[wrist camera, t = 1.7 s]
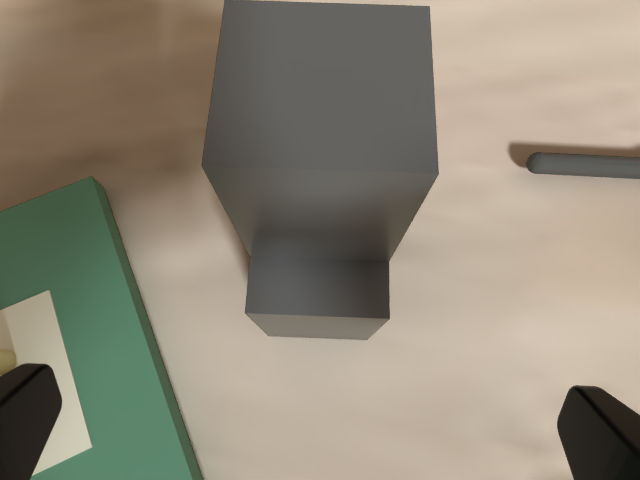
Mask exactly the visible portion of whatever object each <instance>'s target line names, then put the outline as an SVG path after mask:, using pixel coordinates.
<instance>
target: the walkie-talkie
mask: <svg viewBox="0 0 640 480" xmlns="http://www.w3.org/2000/svg"><path fill="white" fill-rule="evenodd" d="M526 165H527V168H528V170H529V171H530V172H532V173H535V174H554V175H573V176H593V177H612V178H631V179H640V158H637V157H618V156H599V155H580V154H561V153H541V152H537V153H533V154H532V155H530V157H529V158H528V159H527V162H526Z"/></svg>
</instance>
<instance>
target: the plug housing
mask: <svg viewBox="0 0 640 480" xmlns="http://www.w3.org/2000/svg"><path fill="white" fill-rule="evenodd" d="M202 168H203V169H204V171H205V173H206V175H207V177H208V179H209V181H210V182H211V184H212V186H213V188H214V190H215V192H216V194H217V196H218V197H219V199H220V201H221V203H222V205H223V207H224V209H225V210H226V212H227V214H228V216H229V218H230V220H231V222H232V224H233V225H234V227H235V229H236V231H237V233H238V235H239V237H240V238H241V240H242V242H243V244H244V246H245V248H246V250H247V251H248V253H249V255H250V264H249V274H248V285H247V296H246V307H245V314H246V315H247V316H248V317H249V318H250V319H251V320H252V321H253V322H254V323H255V324H257V325H258V326H259V327H260V328H261V329H262V330H263V331H264V332H265V333H266V334H267V335H268V336H280V337H305V338H330V339H355V340H368V339H369V338H370V337H371V336H372V335H373V334H374V333H375V332H376V331H377V330H378V329H379V328H380V327H381V326H383V325H384V324H385V323H386V322H387V321H388V320H389V319H390V309H389V261H390V259H391V257H392V255H393V254H394V252H395V250H396V248H397V247H398V245H399V243H400V241H401V240H402V238H403V236H404V234H405V233H406V231H407V229H408V227H409V226H410V224H411V222H412V220H413V218H414V217H415V215H416V213H417V211H418V210H419V208H420V206H421V204H422V203H423V201H424V199H425V197H426V196H427V194H428V192H429V190H430V189H431V187H432V185H433V183H434V182H435V180H436V178H437V176H438V175H439V171H438V152H437V134H436V115H435V97H434V78H433V59H432V41H431V22H430V6H406V5H375V4H344V3H312V2H281V1H249V0H225V2H224V9H223V16H222V23H221V31H220V38H219V45H218V52H217V59H216V66H215V73H214V80H213V87H212V95H211V102H210V109H209V116H208V123H207V130H206V137H205V144H204V151H203V159H202Z"/></svg>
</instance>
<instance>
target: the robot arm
mask: <svg viewBox="0 0 640 480" xmlns="http://www.w3.org/2000/svg"><path fill="white" fill-rule="evenodd" d="M61 408H62V396H61V393H60V390H59V387H58V383H57V380H56V377H55V374H54V371H53V369H52V367H50V366H49V365H47V364H39V363H25V364H21V365H19V366H17V367H16V368H14V369H12V370H10V371H9V372H7V373H5V374H3V375H1V376H0V480H30V479H31V477H32V474H33V472H34V470H35V468H36V465H37V463H38V461H39V459H40V456H41V454H42V452H43V450H44V448H45V445H46V443H47V441H48V439H49V436H50V434H51V432H52V430H53V427H54V425H55V423H56V421H57V418H58V416H59V414H60V411H61ZM557 428H558V433H559V436H560V439H561V442H562V445H563V448H564V451H565V454H566V457H567V460H568V463H569V466H570V469H571V472H572V475H573V478H574V480H640V415H639V414H638V413H636V412H635V411H633V410H632V409H630V408H629V407H627V406H626V405H625V404H623V403H622V402H620V401H619V400H617V399H616V398H614V397H613V396H612V395H610V394H609V393H607V392H606V391H604V390H603V389H601V388H599V387H596V386H579V385H576V386H573V387H571V388H570V389H569V391H568V393H567V396H566V399H565V401H564V404H563V406H562V409H561V411H560V414H559V416H558V421H557Z"/></svg>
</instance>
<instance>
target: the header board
mask: <svg viewBox="0 0 640 480" xmlns="http://www.w3.org/2000/svg"><path fill="white" fill-rule="evenodd" d="M25 363H39V364H47V365H49V366H50V367H52V369H53V371H54V374H55V377H56V380H57V383H58V387H59V390H60V393H61V396H62V408H61V411H60V414H59V416H58V418H57V421H56V423H55V425H54V427H53V430H52V432H51V434H50V436H49V439H48V441H47V443H46V445H45V448H44V450H43V452H42V454H41V456H40V459H39V461H38V463H37V465H36V468H35V470H34V472H33V474H32V477H31V479H30V480H203V479H202V476H201V473H200V470H199V467H198V464H197V461H196V458H195V455H194V452H193V449H192V446H191V443H190V440H189V438H188V435H187V432H186V429H185V426H184V423H183V420H182V417H181V414H180V411H179V408H178V405H177V402H176V399H175V396H174V393H173V391H172V388H171V385H170V382H169V379H168V376H167V373H166V370H165V367H164V364H163V361H162V358H161V355H160V352H159V349H158V346H157V343H156V341H155V338H154V335H153V332H152V329H151V326H150V323H149V320H148V317H147V314H146V311H145V308H144V305H143V302H142V299H141V296H140V294H139V291H138V288H137V285H136V282H135V279H134V276H133V273H132V270H131V267H130V264H129V261H128V258H127V255H126V252H125V249H124V247H123V244H122V241H121V238H120V235H119V232H118V229H117V226H116V223H115V220H114V217H113V214H112V211H111V208H110V205H109V202H108V199H107V197H106V194H105V191H104V188H103V186H101V185H100V184H99V183H98V182H97V181H96V180H95V179H94V178H93V177H92V176H91V177H88V178H86V179H83V180H80V181H78V182H75V183H73V184H70V185H68V186H65V187H63V188H60V189H57V190H55V191H52V192H50V193H47V194H45V195H42V196H39V197H37V198H34V199H32V200H29V201H27V202H24V203H21V204H19V205H16V206H14V207H11V208H9V209H6V210H4V211H1V212H0V376H1V375H3V374H5V373H7V372H9V371H10V370H12V369H14V368H16V367H17V366H19V365H21V364H25Z"/></svg>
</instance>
